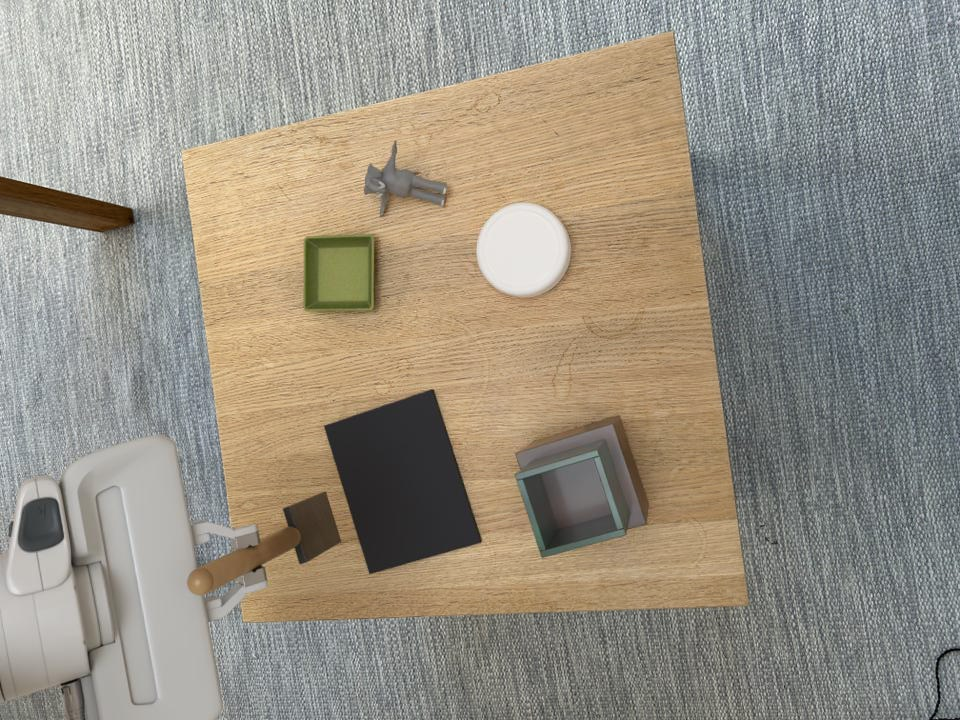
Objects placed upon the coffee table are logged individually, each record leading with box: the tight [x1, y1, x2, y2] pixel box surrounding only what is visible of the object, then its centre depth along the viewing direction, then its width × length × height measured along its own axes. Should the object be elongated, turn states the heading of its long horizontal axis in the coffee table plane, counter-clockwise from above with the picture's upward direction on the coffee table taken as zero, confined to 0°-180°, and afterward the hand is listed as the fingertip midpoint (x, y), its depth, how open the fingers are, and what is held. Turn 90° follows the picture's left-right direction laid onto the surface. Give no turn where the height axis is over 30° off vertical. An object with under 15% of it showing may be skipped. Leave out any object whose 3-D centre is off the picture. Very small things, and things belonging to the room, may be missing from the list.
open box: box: [514, 414, 650, 559], centre depth 75 cm, size 10×10×18 cm
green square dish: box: [302, 233, 375, 312], centre depth 89 cm, size 9×9×2 cm
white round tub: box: [475, 201, 572, 299], centre depth 83 cm, size 10×10×4 cm
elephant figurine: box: [363, 140, 448, 218], centre depth 85 cm, size 10×6×9 cm
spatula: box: [187, 491, 342, 596], centre depth 60 cm, size 5×2×21 cm, turn 19°
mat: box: [323, 388, 483, 575], centre depth 88 cm, size 18×14×1 cm
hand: (261, 553), depth 56 cm, fingers closed on spatula, 2 cm apart
